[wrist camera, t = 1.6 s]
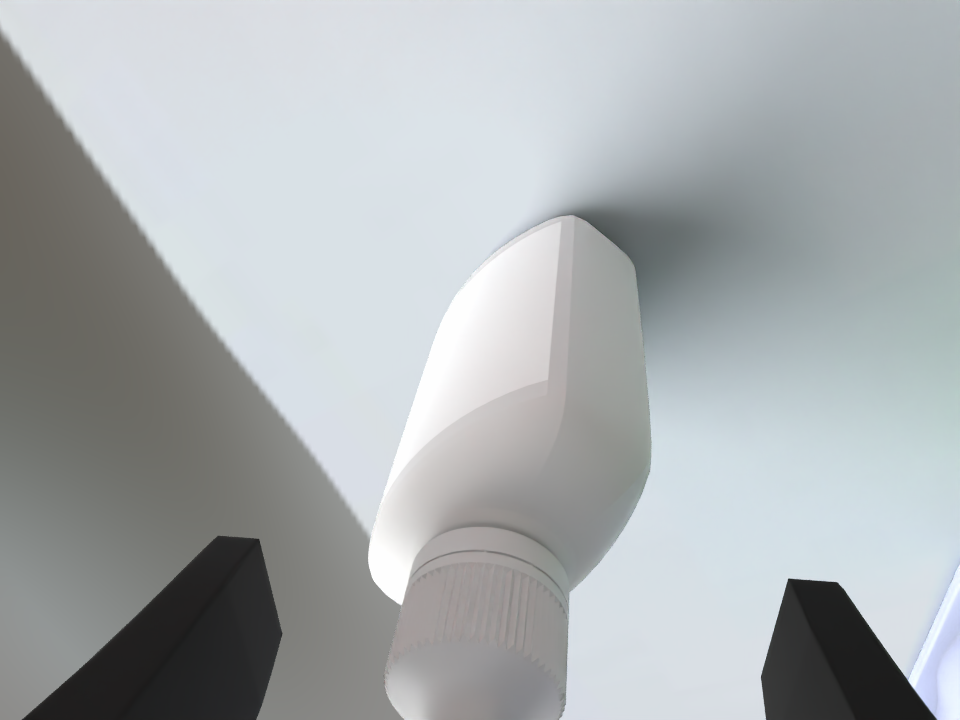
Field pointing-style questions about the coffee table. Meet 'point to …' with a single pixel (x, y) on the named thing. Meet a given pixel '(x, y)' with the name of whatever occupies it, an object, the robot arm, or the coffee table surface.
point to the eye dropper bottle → (513, 476)
